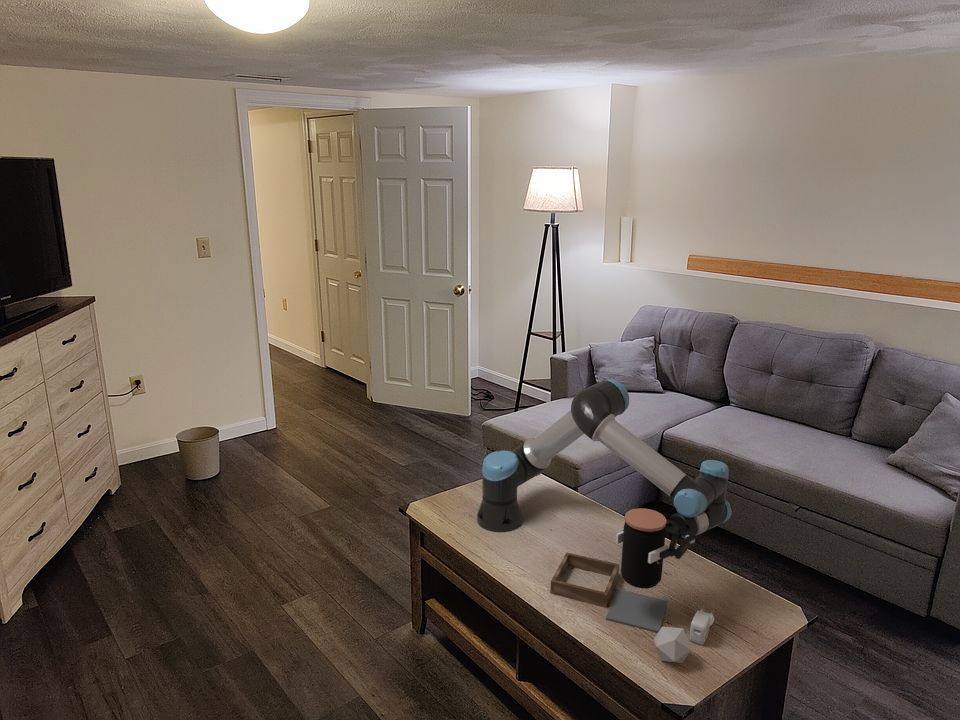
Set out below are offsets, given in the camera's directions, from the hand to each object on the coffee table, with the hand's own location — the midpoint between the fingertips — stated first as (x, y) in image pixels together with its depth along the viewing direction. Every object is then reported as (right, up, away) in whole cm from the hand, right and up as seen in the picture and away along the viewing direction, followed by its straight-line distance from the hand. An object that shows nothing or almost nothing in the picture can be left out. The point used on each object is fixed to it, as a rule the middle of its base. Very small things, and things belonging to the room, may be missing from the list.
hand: (632, 548), depth 176 cm
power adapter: (+18, -22, 0) cm, 28 cm away
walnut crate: (-9, -16, +20) cm, 27 cm away
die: (+7, -25, -9) cm, 27 cm away
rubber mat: (+3, -19, +8) cm, 21 cm away
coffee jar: (+3, -10, +5) cm, 11 cm away
